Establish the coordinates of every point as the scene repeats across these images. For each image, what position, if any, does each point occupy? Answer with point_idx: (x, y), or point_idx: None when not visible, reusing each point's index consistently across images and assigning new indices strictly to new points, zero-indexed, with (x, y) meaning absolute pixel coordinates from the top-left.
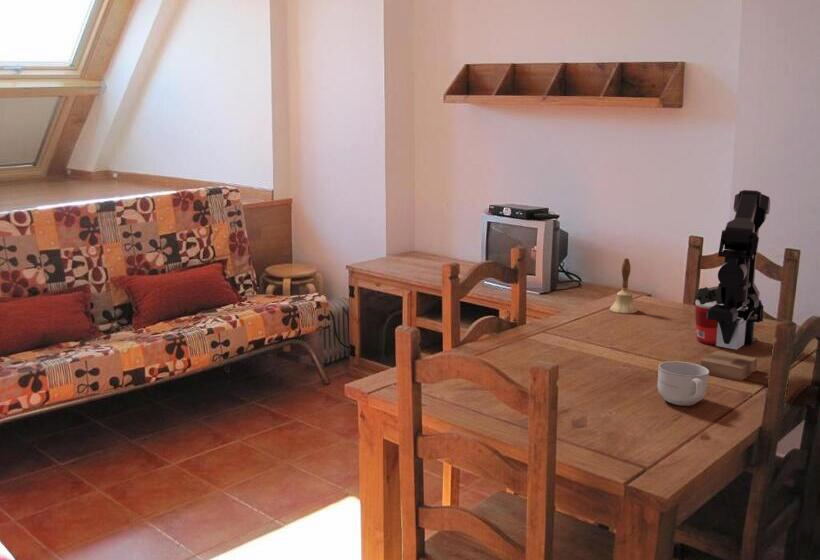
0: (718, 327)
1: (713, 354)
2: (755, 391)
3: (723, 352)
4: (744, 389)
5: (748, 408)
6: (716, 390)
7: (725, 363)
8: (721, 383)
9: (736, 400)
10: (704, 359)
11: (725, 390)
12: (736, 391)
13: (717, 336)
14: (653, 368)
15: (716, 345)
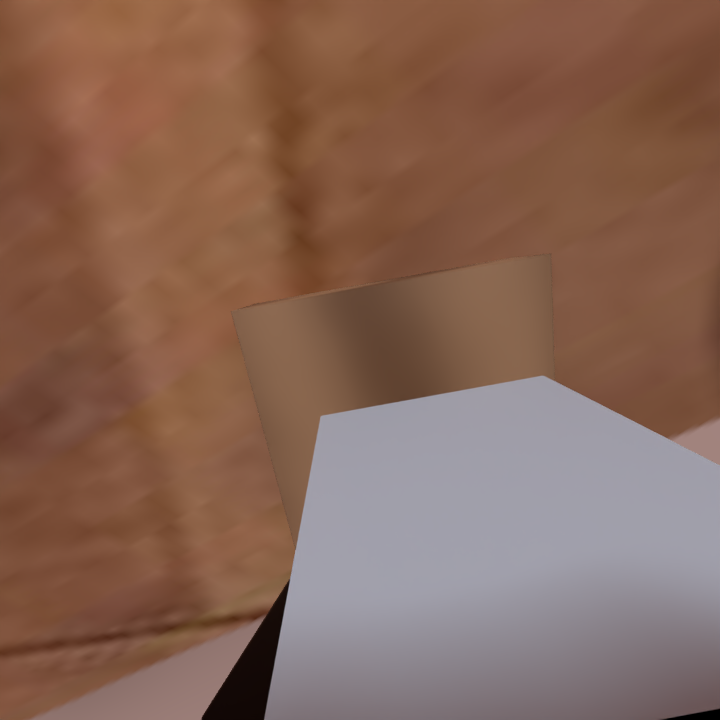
0: (282, 656)
1: (432, 296)
2: (240, 611)
3: (531, 320)
4: (221, 574)
5: (41, 684)
6: (93, 509)
7: (309, 461)
8: (200, 473)
9: (71, 619)
10: (269, 318)
11: (133, 533)
12: (167, 567)
13: (309, 489)
14: (48, 14)
15: (320, 422)
